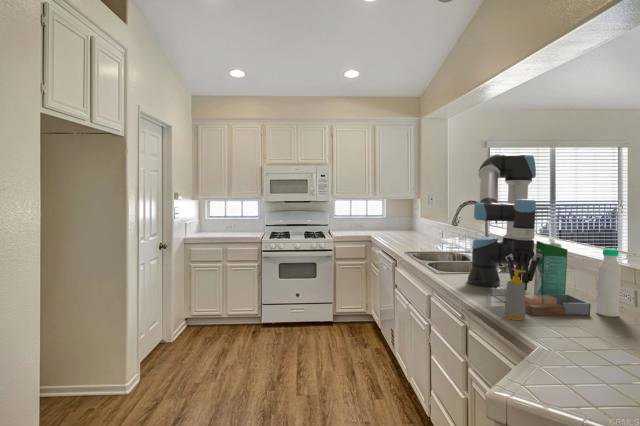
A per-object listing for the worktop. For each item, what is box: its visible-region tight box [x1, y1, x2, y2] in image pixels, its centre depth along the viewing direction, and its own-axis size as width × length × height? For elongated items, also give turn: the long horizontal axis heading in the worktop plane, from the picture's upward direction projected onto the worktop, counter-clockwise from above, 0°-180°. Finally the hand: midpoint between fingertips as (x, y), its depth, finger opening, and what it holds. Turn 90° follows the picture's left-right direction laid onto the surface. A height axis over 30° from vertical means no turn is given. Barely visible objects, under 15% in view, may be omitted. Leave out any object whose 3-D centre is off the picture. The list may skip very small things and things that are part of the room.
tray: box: [544, 293, 592, 316], centre depth 152 cm, size 13×10×4 cm
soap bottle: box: [503, 268, 527, 321], centre depth 141 cm, size 7×7×18 cm
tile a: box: [525, 294, 542, 304], centre depth 152 cm, size 5×5×2 cm
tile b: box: [537, 295, 557, 304], centre depth 152 cm, size 5×5×2 cm
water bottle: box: [595, 248, 622, 318], centre depth 146 cm, size 7×7×25 cm
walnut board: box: [525, 302, 566, 317], centre depth 152 cm, size 15×12×3 cm
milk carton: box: [533, 240, 568, 296], centre depth 165 cm, size 9×9×25 cm
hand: (520, 298), depth 152 cm, fingers closed
